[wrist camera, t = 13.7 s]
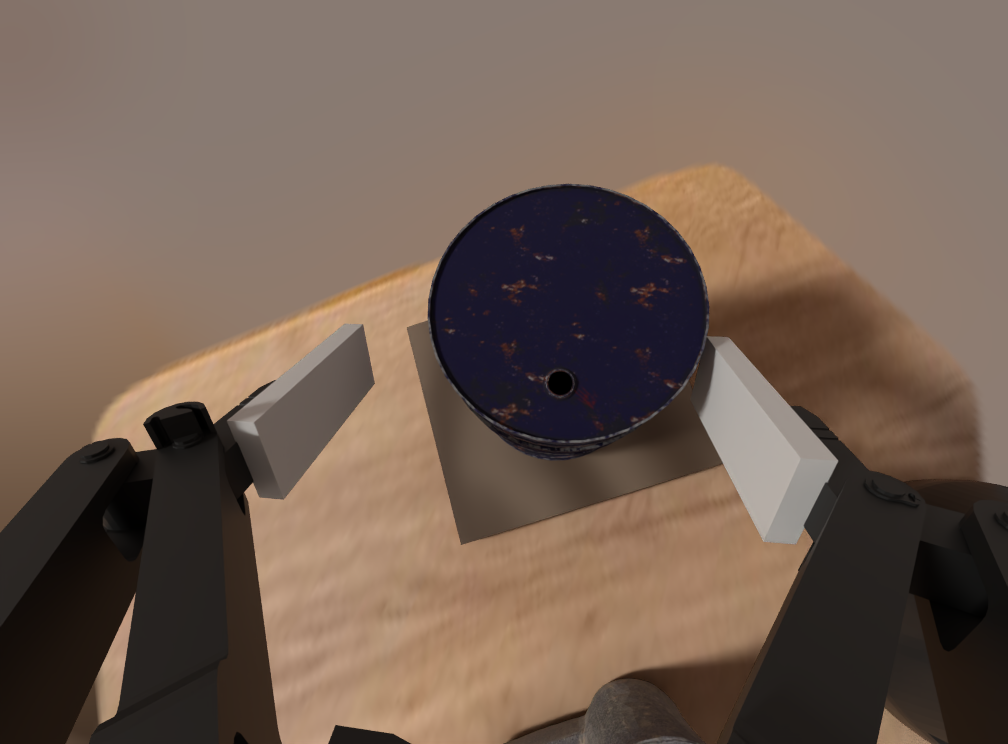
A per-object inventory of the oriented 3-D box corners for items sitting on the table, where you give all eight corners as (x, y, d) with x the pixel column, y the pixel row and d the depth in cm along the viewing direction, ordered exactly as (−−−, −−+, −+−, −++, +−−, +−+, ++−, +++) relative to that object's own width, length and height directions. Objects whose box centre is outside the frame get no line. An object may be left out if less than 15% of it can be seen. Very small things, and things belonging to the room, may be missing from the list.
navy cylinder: (490, 321, 30) (441, 180, 16) (625, 326, 29) (705, 179, 15) (477, 457, 28) (406, 437, 13) (624, 468, 27) (721, 459, 12)
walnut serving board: (629, 264, 32) (633, 254, 30) (715, 463, 28) (725, 462, 26) (412, 333, 32) (406, 327, 31) (465, 541, 28) (461, 544, 26)
